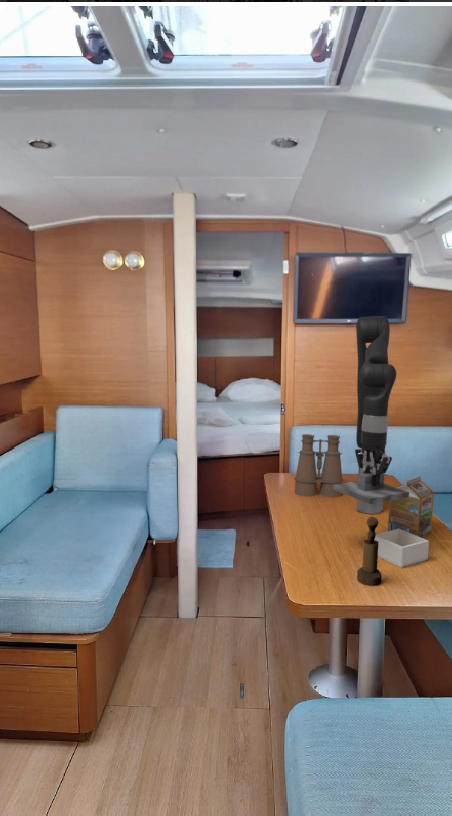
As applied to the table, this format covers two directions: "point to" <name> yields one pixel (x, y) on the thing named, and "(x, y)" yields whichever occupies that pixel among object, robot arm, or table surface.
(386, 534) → the white storage bin
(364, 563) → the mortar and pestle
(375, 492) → the lid
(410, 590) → the table surface
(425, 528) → the milk carton
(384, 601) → the table surface
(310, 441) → the binoculars
